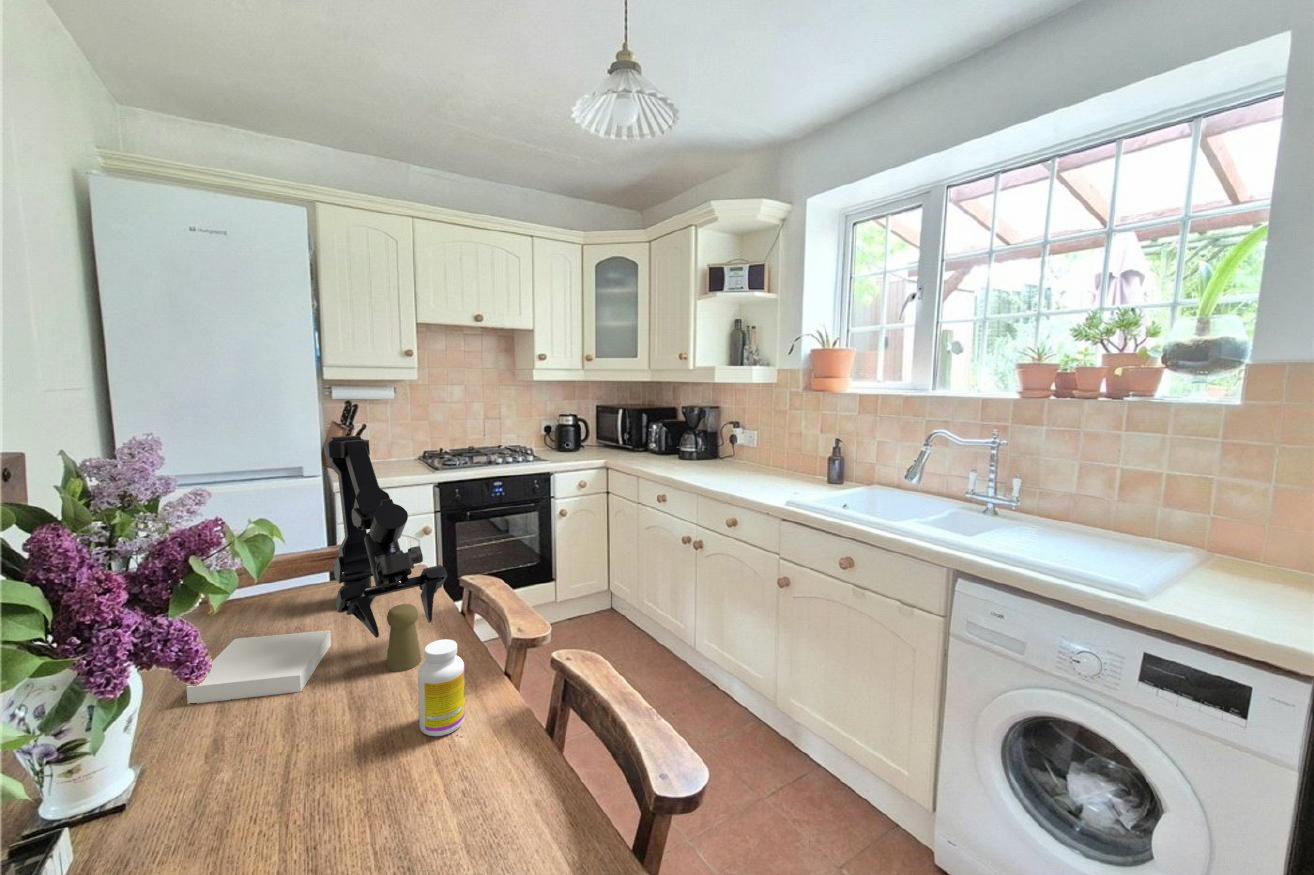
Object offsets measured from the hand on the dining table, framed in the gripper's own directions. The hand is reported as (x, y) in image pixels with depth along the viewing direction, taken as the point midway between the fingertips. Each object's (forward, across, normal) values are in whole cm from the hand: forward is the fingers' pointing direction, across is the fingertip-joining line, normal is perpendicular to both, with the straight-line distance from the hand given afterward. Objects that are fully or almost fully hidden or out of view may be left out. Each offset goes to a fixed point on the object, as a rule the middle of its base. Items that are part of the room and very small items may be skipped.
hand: (404, 629), depth 98 cm
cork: (+4, 0, +6) cm, 7 cm away
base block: (-4, -20, +14) cm, 25 cm away
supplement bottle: (+20, -1, -10) cm, 22 cm away
